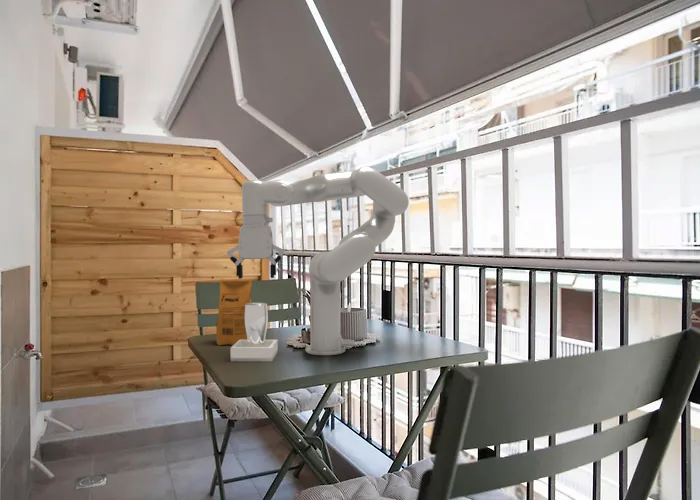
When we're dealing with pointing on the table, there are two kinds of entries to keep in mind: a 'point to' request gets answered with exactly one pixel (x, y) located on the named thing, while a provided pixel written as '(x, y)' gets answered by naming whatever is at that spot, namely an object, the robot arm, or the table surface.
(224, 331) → the coffee package
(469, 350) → the table surface
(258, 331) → the beer glass
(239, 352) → the tray
